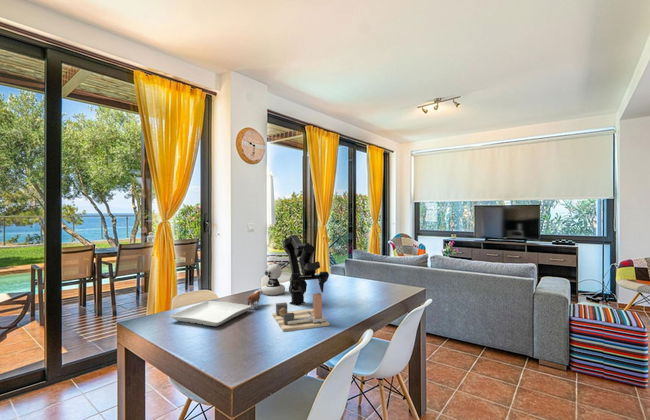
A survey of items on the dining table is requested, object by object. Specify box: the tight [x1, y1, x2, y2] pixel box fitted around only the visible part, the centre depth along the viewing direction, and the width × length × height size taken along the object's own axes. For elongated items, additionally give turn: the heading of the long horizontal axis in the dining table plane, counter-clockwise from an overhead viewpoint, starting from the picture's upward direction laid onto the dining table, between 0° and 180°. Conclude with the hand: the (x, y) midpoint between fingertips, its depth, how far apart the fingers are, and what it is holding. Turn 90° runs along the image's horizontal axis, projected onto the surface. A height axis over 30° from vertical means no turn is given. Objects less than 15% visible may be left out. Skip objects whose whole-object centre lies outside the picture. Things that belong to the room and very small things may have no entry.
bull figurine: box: [247, 288, 265, 310], centre depth 177 cm, size 4×13×8 cm, turn 161°
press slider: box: [283, 292, 327, 325], centre depth 148 cm, size 6×18×12 cm, turn 110°
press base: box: [272, 302, 331, 333], centre depth 154 cm, size 23×21×6 cm
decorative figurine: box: [260, 261, 286, 296], centre depth 205 cm, size 15×15×20 cm
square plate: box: [169, 300, 252, 327], centre depth 160 cm, size 27×27×4 cm
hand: (313, 293), depth 155 cm, fingers open, 9 cm apart
